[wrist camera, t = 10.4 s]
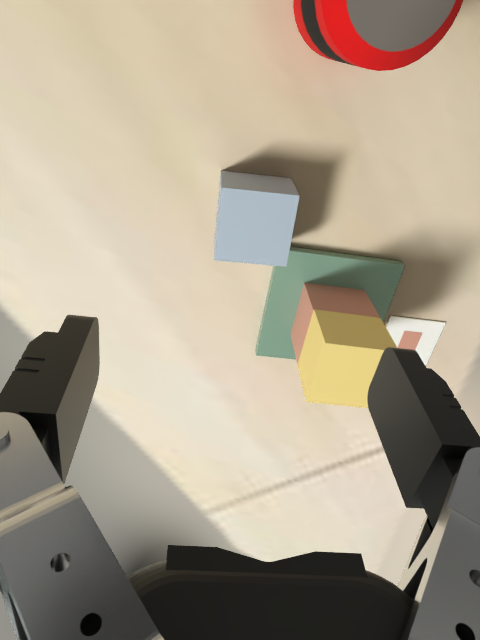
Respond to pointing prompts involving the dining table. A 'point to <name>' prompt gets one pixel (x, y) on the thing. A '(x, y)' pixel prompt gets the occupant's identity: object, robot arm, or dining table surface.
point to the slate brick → (255, 218)
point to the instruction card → (415, 334)
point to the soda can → (374, 29)
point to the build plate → (322, 270)
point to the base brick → (327, 308)
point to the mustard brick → (341, 357)
